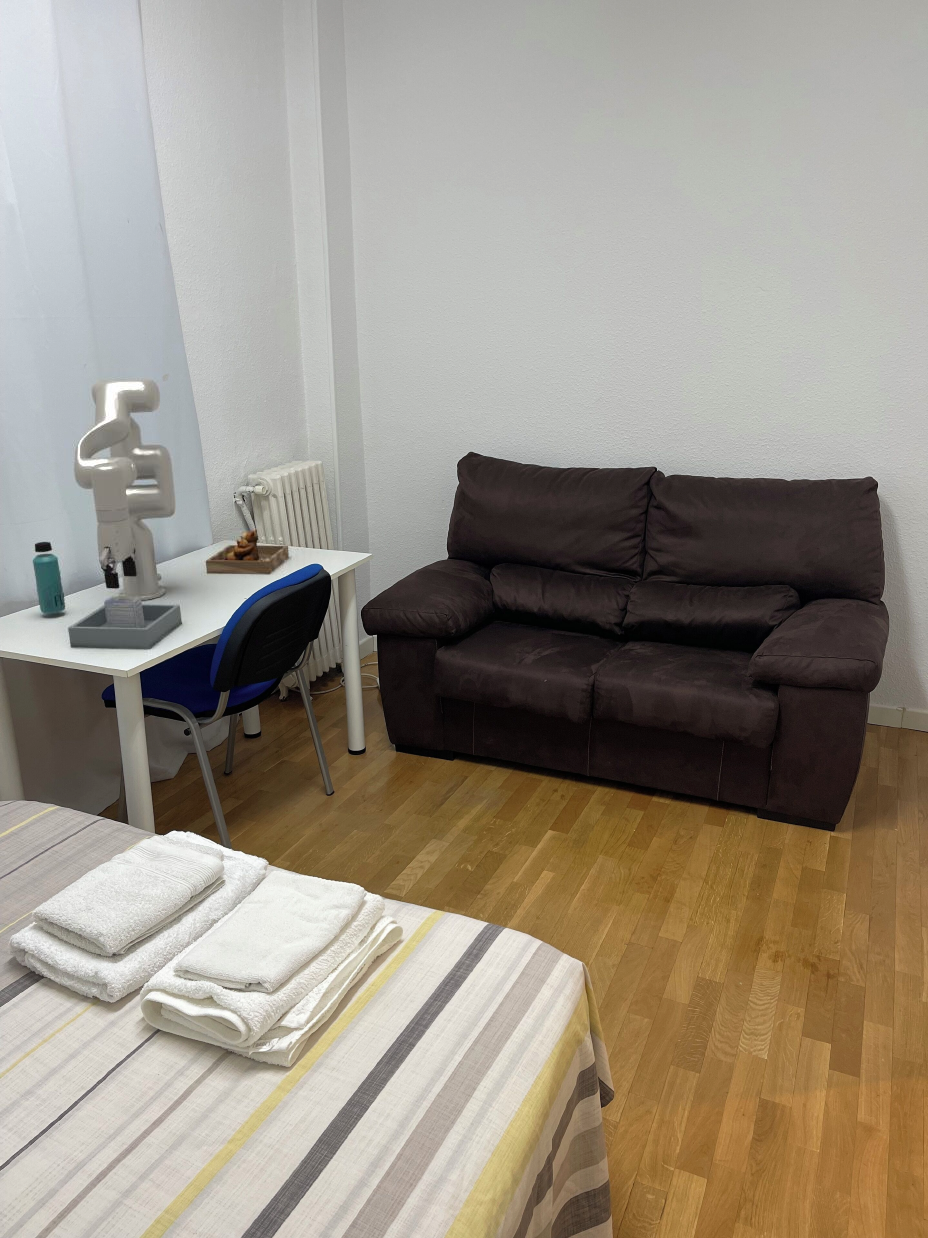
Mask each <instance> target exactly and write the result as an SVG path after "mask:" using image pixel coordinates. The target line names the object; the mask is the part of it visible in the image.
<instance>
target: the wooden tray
mask: <svg viewBox="0 0 928 1238" xmlns="http://www.w3.org/2000/svg"><path fill="white" fill-rule="evenodd" d="M236 545H237V544H231V545H230V544H228V545H227V546H226V547H224V548H222V549H221V550H219V551H218V552H216V553H215V554H214V555H212V556H211V557H209V558H208V559H207V560H205V567H206V574H215V575H217V574H219V575H221V574H223V575H224V574H225V575H226V574H227V575H232V574H233V575H270V574H272V573H273V572H274V571H275V570H277V568H279V567H280V566H281V565H282V564H283V563H285V562H286V561H287V560H288V559H289V558H290V557H289V556H290V555H289V545H262V544H261V545H258V544H257V549H258V554H259V557H265V558H267V559H266V560H267V561H236V560H223V559H224V558H225V556H226V555H227V554H229V553H232V552H233V551H234V548H235V546H236ZM285 560H286V561H285ZM278 566H279V567H278ZM272 571H273V572H272ZM271 572H272V573H271Z"/></svg>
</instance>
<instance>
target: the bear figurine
mask: <svg viewBox="0 0 928 1238" xmlns="http://www.w3.org/2000/svg"><path fill="white" fill-rule="evenodd" d="M257 533H258V529H254V530H253V529H252V530H250V531H248V532H245V533H242V534H241V535H240V539H236V544H235V545H236V546H235V548H234V551H233V552H232V553H229V554H227V555H226V556H225V558H224V559H223V560H236V561H267V560H268V558H265V557H259V554H258V549H257V545H258V540H259V536H258V535H259V534H257Z"/></svg>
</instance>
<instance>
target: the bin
mask: <svg viewBox="0 0 928 1238" xmlns="http://www.w3.org/2000/svg"><path fill="white" fill-rule="evenodd" d="M142 609H143V616H144V623H145V628H116V627H108V626H107V619H106V612H105V605H104V604H103V605H102V606H101V607H99V608H98V609H96V610H94V611H93V612H91V613H89V614H88V615H86V616H84V617H83V618H82V619H79V620H78V621H77V622H75V623H73V624H71V625H70V626H68V627H67V631H68V637H69V644H70V648H79V649H80V648H81V649H84V648H85V649H87V648H89V649H123V650H124V649H127V650H129V649H130V650H131V649H133V650H151V649H152V648H153V647H155V645H156V644H158V643H159V642H161V640H163V639H164V638H165V637H167V636H168V635H170V634H171V633H172V632H173V631H174V630H176V629H177V628H178V627H179V626H181V625H182V624H183V623H182V622H183V621H182V613H181V605H180V604H144V603H142Z"/></svg>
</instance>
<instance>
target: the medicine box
mask: <svg viewBox="0 0 928 1238" xmlns="http://www.w3.org/2000/svg"><path fill="white" fill-rule="evenodd" d="M142 601H143V600H141V597H133V596H119V595H117V596H115V595H114V596H110V597H108V598H107V599H105V600H104V601H103V603H104V604H103V606H104V605H105V612H106V619H107V626H108V627H116V628H145V623H144V616H143V609H142V604H143V603H142Z"/></svg>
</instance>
